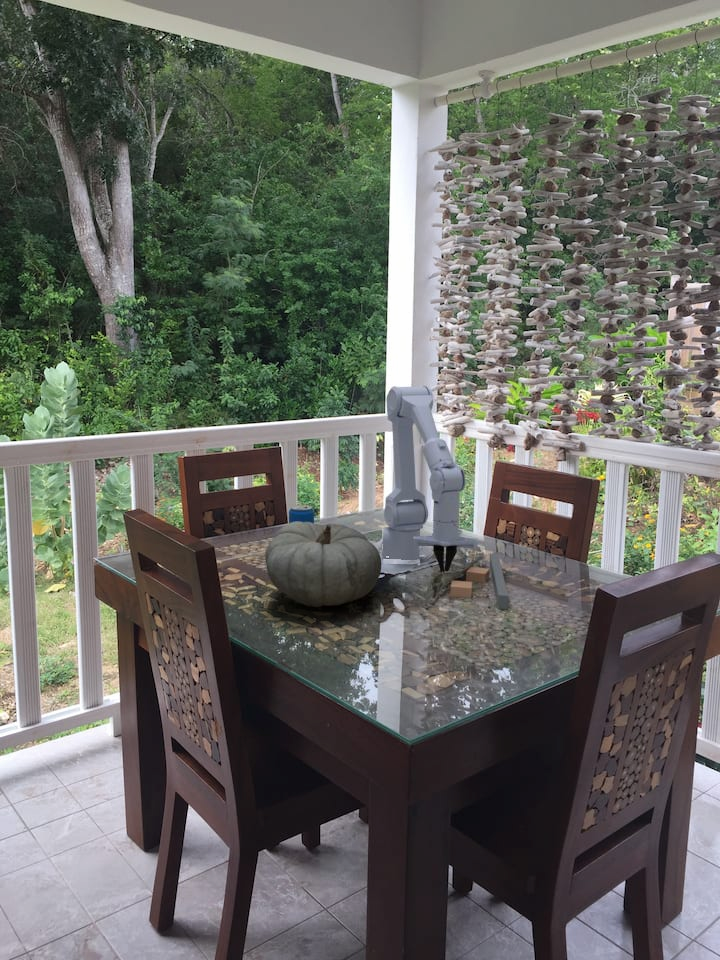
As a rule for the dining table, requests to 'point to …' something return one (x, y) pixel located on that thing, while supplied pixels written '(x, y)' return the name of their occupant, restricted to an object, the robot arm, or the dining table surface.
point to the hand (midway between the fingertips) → (444, 577)
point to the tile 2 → (477, 574)
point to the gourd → (322, 563)
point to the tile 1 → (461, 589)
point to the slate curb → (498, 582)
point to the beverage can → (301, 513)
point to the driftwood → (447, 578)
